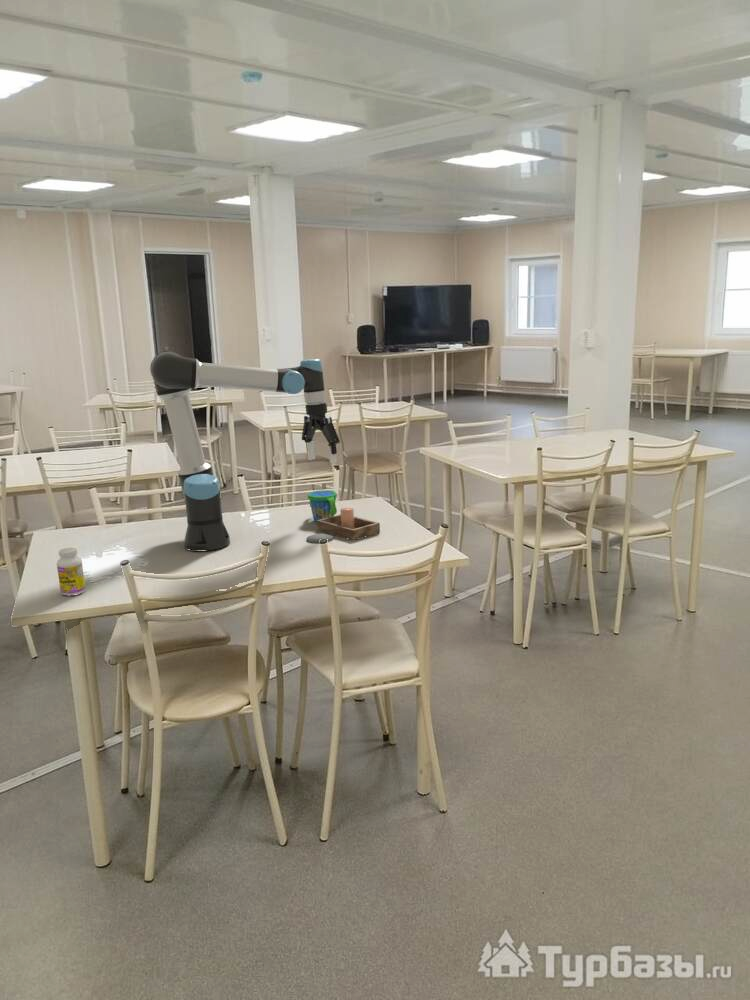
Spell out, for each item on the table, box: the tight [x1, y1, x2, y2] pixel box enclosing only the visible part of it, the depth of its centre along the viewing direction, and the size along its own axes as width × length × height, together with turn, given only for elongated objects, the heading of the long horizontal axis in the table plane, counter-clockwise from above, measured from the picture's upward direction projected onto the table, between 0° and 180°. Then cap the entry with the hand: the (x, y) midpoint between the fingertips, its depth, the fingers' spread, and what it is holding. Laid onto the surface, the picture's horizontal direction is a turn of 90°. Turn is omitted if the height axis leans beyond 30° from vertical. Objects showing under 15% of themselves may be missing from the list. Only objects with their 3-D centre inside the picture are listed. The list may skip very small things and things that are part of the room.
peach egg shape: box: [340, 507, 356, 529], centre depth 268 cm, size 5×5×8 cm
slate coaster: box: [306, 533, 334, 544], centre depth 261 cm, size 9×9×1 cm
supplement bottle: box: [56, 547, 86, 596], centre depth 218 cm, size 7×7×13 cm
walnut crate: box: [316, 513, 381, 541], centre depth 269 cm, size 12×20×4 cm, turn 42°
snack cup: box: [307, 489, 338, 522], centre depth 284 cm, size 16×11×10 cm
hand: (322, 461), depth 279 cm, fingers open, 13 cm apart
